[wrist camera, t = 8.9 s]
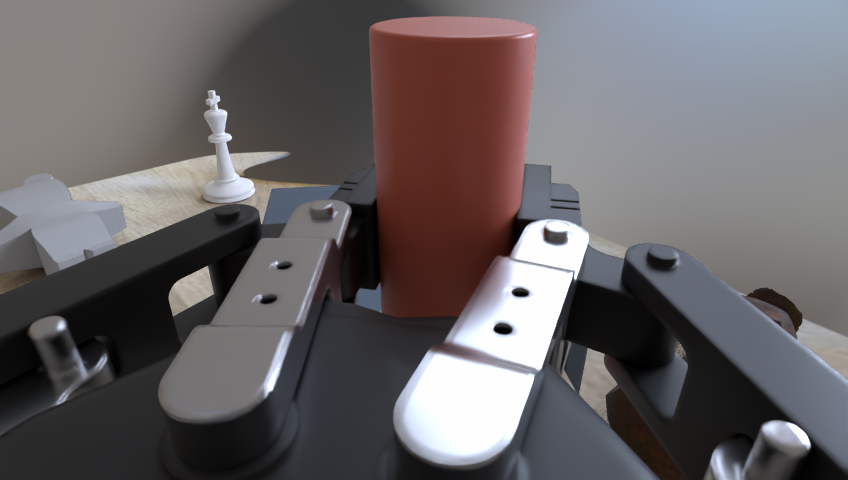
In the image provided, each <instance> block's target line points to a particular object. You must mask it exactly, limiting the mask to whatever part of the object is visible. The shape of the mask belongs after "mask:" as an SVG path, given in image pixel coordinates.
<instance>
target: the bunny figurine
mask: <svg viewBox="0 0 848 480" xmlns="http://www.w3.org/2000/svg"><path fill="white" fill-rule="evenodd" d="M126 227H127V226H126V221H125V217H124V213H123V208H122V206H121V205H120V204H119V203H118V202H112V201H77V200H72V198H71V195H70V193H69V190H68V189H67V187H66V186H65V184H63V183H62V182H61V181H59V180H57V179H54V178H53V177H52V176H51V175H50V174H48V173H41V174H37V175H33V176H31V177H29V178H28V179H26V180H25V181H24V183H23V187H18V188H15V189H11V190H8V191H5V192H1V193H0V274H3V273H9V272H15V271H21V270H27V269H33V268H41V267H44V270H45V273H46V276H48V275H50V274H53V273H55V272H58V271H60V270H63V269H65V268H67V267H70V266H72V265H75V264H77V263H80V262H82V261H85V260H87V259H90V258H92V257H94V256H97V255H99V254H102V253H104V252H107V251H109V250H112V249H114V248H116V243H115V241H113V240H112V239H111V237H112V236H113V235H115V234H117V233H118V232H120V231H121V230H123V229H125V228H126Z"/></svg>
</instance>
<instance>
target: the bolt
mask: <svg viewBox="0 0 848 480" xmlns="http://www.w3.org/2000/svg"><path fill="white" fill-rule="evenodd" d="M753 292H754V293H750V294H748V295H747V296H743V295H741V296H743V297H744V298H745V299H746V300H748V301H749V302H750V303H751V304H753V305H754V306H755V307H756V308H758V309H759V310H760V311H761V312H763V313H764V314H765V315H766V316H768V317H769V318H770V319H771V320H773V321H774V322H775V323H776V324H778V325H779V326H780V327H781V328H783V329H784V330H785V331H787V332H788V333H789V334H790V335H792V336H793V337H794V338H795V339H797V336H796V332H797V331H798V329H799V328H798V327H799V326H801V324H802V314H801V312H800V311H799V310H798V309H797V308H796V306H795V305H794V304H793V303H792V302H791V301H790V300H789V299H787V298H786V297H785V296H783V295H780V294H778V293H776V292H775V291H774V290H772V289H768V288H760V289H757V290H755V291H753ZM682 359H683V360H684V361H685V362H686V363H687V364H688V362H687V356H685V357H683V358H682ZM606 407H607V415H608V420H609V424H610V428H611V429H612V430H613V431H614V432H615V433H616V434H617V435H618V436H619V437H620V438H621V439H622V440H623V441H624V442H625V443H626V444H627V445H628V446H629V447H630V448H631V449H632V450H633V452H634V453H635V454H636V455H637V456H638V457H639V458H640V459H641V460H642V461H643V462H644V463H645V464H646V465H647V466H648V467H649V468H650V469H651V470H652V471H653V472H654V473H655V474H656V475H657V476H658V478H659V479H660V480H686V479H685V477H684V476H683V475H682V473H681V472H680V470H679V469H678V468H677V466H676V465H675V463H674V462H673V461H672V459H671V458H670V456H669V455H668V454H667V452H666V451H665V449H664V448H663V447H662V445H661V444H660V442H659V441H658V440H657V438H656V437H655V435H654V434H653V433H652V431H651V430H650V428H649V427H648V426H647V424H646V423H645V421H644V420H643V419H642V417H641V416H640V414H639V413H638V412H637V410H636V409H635V408H634V406H633V405H632V403H631V402H630V401H629V399H628V398H627V396H626V395H625V394H624V392H623V391H622V389H621V388H620V387H619V385H617V386H616V387H615V388H613V389H612V390H611V391H610V392H609V393H608V394H607V395H606Z"/></svg>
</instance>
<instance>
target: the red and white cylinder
mask: <svg viewBox="0 0 848 480" xmlns="http://www.w3.org/2000/svg"><path fill="white" fill-rule="evenodd" d="M369 37H370V38H369V39H370V62H371V84H372V107H373V127H374V128H373V130H374V151H375V175H376V198H377V220H378V243H379V266H380V288H381V311H380V312H381V313H385V314H388V315H391V316H394V317H403V318H404V317H435V316H455V317H459V316H460V315H461V313H462V311H463V310H464V308H465V306H466V305H467V303H468V301H469V300H470V298H471V297H472V295H473V293H474V292H475V290H476V288H477V287H478V285H479V283H480V282H481V280H482V279H483V277H484V275H485V274H486V272H487V270H488V269H489V267H490V265H491V264H492V262H493V261H494V259H495V257H496V256H498V255H500V256H505V257H509V256H510V254H511V252H512V251H513V249H514V245H515V234H516V223H517V214H518V209H519V208H520V205H521V196H522V186H523V175H524V165H525V154H526V144H527V133H528V123H529V112H530V102H531V91H532V81H533V70H534V59H535V48H536V38H537V31H536V28H535V27H534V26H532V25H530V24H527V23H524V22H519V21H513V20H505V19H497V18H483V17H415V18H402V19H395V20H387V21H383V22H379V23H376V24H374V25H372V26H371V27H370V30H369Z"/></svg>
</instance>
